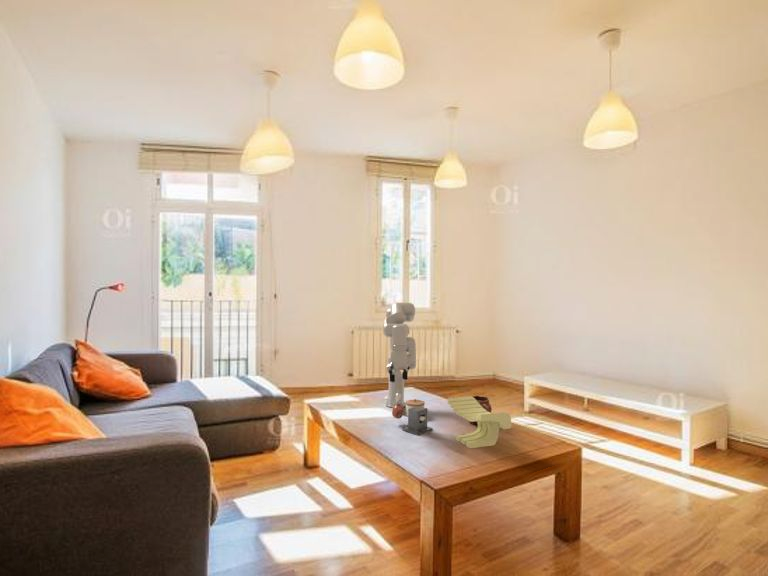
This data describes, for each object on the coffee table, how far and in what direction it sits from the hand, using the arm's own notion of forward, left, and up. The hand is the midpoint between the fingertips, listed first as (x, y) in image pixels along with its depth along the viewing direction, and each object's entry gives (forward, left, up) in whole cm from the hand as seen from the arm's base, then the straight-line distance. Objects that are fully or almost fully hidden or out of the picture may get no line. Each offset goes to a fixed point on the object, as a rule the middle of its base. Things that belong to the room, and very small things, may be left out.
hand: (398, 380), depth 239 cm
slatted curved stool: (+44, +9, -23) cm, 50 cm away
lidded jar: (-4, +18, -23) cm, 30 cm away
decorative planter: (+29, +33, -23) cm, 50 cm away
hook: (+8, 0, -20) cm, 22 cm away
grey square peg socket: (+14, 0, -23) cm, 27 cm away
